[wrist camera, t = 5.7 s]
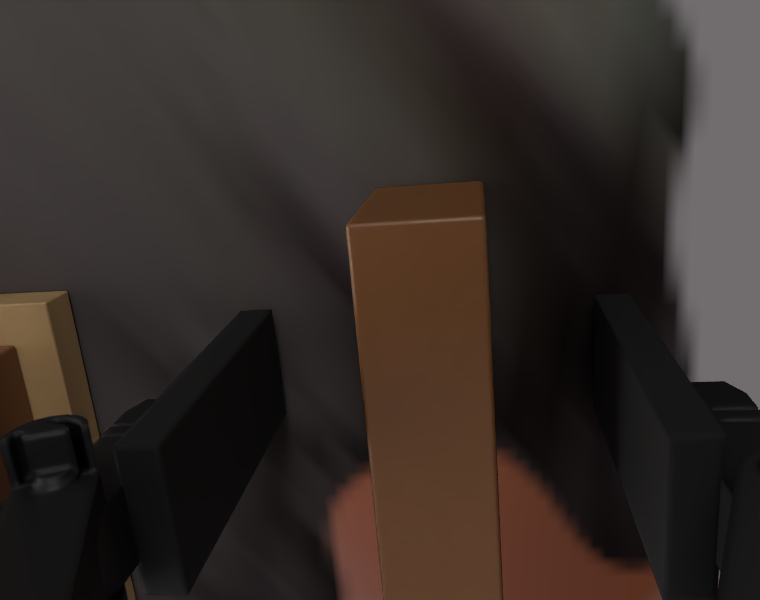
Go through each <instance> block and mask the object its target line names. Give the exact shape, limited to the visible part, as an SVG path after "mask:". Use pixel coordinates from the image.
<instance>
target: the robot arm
mask: <svg viewBox="0 0 760 600" xmlns="http://www.w3.org/2000/svg"><path fill="white" fill-rule="evenodd" d="M594 407H595V410H596V413H597V416H598V419H599V421H600V424H601V427H602V430H603V433H604V436H605V438H606V441H607V444H608V447H609V450H610V453H611V455H612V458H613V461H614V464H615V467H616V470H617V472H618V475H619V478H620V481H621V484H622V486H623V489H624V492H625V495H626V498H627V501H628V503H629V506H630V509H631V512H632V515H633V518H634V520H635V523H636V526H637V529H638V532H639V535H640V537H641V540H642V543H643V546H644V549H645V552H646V554H647V557H648V560H649V563H650V566H651V568H652V571H653V574H654V577H655V580H656V583H657V585H658V588H659V591H660V594H661V597H662V600H760V410H758V407H757V406H756V404H755V403H754V402H753V401H752V400H751V398H750V397H749V396H748V395H747V394H746V393H745V392H743V391H741V390H739V389H737V388H736V387H734V386H732V385H730V384H728V383H726V382H724V381H720V382H690V381H689V379H688V378H687V377H686V375H685V374H684V372H683V371H682V369H681V368H680V366H679V365H678V363H677V362H676V360H675V359H674V358H673V356H672V355H671V353H670V352H669V350H668V349H667V347H666V346H665V344H664V343H663V342H662V340H661V339H660V337H659V336H658V334H657V333H656V331H655V330H654V328H653V327H652V325H651V324H650V323H649V321H648V320H647V318H646V317H645V315H644V314H643V312H642V311H641V309H640V308H639V307H638V305H637V304H636V302H635V301H634V299H633V298H632V296H631V295H630V293H624V294H602V295H594ZM285 414H286V411H285V403H284V396H283V389H282V381H281V374H280V367H279V360H278V352H277V345H276V338H275V330H274V323H273V316H272V309H271V310H249V311H240V312H239V313H238V314H237V316H236V317H235V318H234V319H233V320H232V321H231V322H230V323H229V324H228V325H227V326H226V327H225V328H224V329H223V330H222V331H221V332H220V333H219V334H218V335H217V337H216V338H215V339H214V340H213V341H212V342H211V343H210V344H209V345H208V346H207V347H206V348H205V349H204V350H203V351H202V352H201V353H200V354H199V355H198V356H197V358H196V359H195V360H194V361H193V362H192V363H191V364H190V365H189V366H188V367H187V368H186V369H185V370H184V371H183V372H182V373H181V374H180V375H179V376H178V377H177V379H176V380H175V381H174V382H173V383H172V384H171V385H170V386H169V387H168V388H167V389H166V390H165V391H164V392H163V393H162V394H161V395H160V396H159V397H158V399H148V400H146V401H144V402H142V403H140V404H138V405H137V406H135V407H133V408H131V409H129V410H128V411H126V412H125V413H124V414H123V415H122V416H121V417H120V418H119V419H118V420H117V421H116V422H115V423H114V424H113V427H110V428H109V429H108V430H107V431H106V432H105V433H104V434H103V437H100V438H99V439H98V440H97V441H96V442H95V443H94V444H93V442H92V438H91V433H90V429H89V425H88V420H87V419H86V418H84V417H82V416H80V415H69V414H65V415H56V416H49V417H45V418H41V419H37V420H34V421H31V422H28V423H26V424H23V425H21V426H18V427H17V428H15V429H13V430H12V431H10V432H8V433H7V434H5V435H4V436H3V438H2V439H1V440H0V449H1V453H2V456H3V460H4V464H5V468H6V471H7V475H8V479H9V482H10V486H11V490H10V493H9V495H8V497H7V500H6V502H2V503H0V600H128V597H127V592H126V588H125V582H126V581H127V580H128V578H129V577H130V575H131V574H132V572H133V571H134V569H135V568H136V566H137V565H138V570H139V574H140V579H141V583H142V588H143V593H144V595H188V594H189V592H190V590H191V588H192V586H193V585H194V583H195V581H196V579H197V577H198V575H199V573H200V572H201V570H202V568H203V566H204V564H205V562H206V561H207V559H208V557H209V555H210V553H211V551H212V549H213V548H214V546H215V544H216V542H217V540H218V538H219V536H220V535H221V533H222V531H223V529H224V527H225V525H226V524H227V522H228V520H229V518H230V516H231V514H232V512H233V511H234V509H235V507H236V505H237V503H238V501H239V499H240V498H241V496H242V494H243V492H244V490H245V488H246V486H247V485H248V483H249V481H250V479H251V477H252V475H253V474H254V472H255V470H256V468H257V466H258V464H259V462H260V461H261V459H262V457H263V455H264V453H265V451H266V449H267V448H268V446H269V444H270V442H271V440H272V438H273V437H274V435H275V433H276V431H277V429H278V427H279V425H280V424H281V422H282V420H283V418H284V416H285ZM719 570H720V572H721V573H720V579H719V585H718V575H719V574H718V573H719ZM717 591H718V592H717Z"/></svg>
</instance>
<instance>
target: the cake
mask: <svg viewBox="0 0 760 600" xmlns="http://www.w3.org/2000/svg"><path fill="white" fill-rule="evenodd" d="M65 414H69V415H80V416H82V417H84V418H86V419H87V420H88V425H89V429H90V433H91V438H92V442H93V444H94V443H95V442H96V441H97V440H98V439H99V438H100V436H99V432H98V427H97V423H96V418H95V414H94V409H93V405H92V400H91V396H90V391H89V387H88V382H87V378H86V373H85V369H84V364H83V360H82V355H81V351H80V346H79V342H78V337H77V333H76V328H75V324H74V319H73V315H72V310H71V306H70V301H69V297H68V292H67V291H52V292H32V293H13V294H0V440H1V439H2V438H3V436H4V435H5V434H7V433H8V432H10V431H12V430H13V429H15V428H17V427H18V426H21V425H23V424H26V423H28V422H31V421H34V420H37V419H41V418H45V417H49V416H56V415H65ZM10 490H11V486H10V482H9V479H8V475H7V471H6V468H5V464H4V460H3V456H2V453H1V449H0V503H2V502H6V500H7V497H8V495H9V493H10ZM125 588H126V592H127V597H128V600H136V598H135V594H134V589H133V585H132V580H131V576H130V577H129V578H128V580H127V581H126V582H125Z"/></svg>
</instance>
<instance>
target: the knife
mask: <svg viewBox="0 0 760 600" xmlns="http://www.w3.org/2000/svg"><path fill="white" fill-rule="evenodd" d="M346 237H347V247H348V257H349V267H350V276H351V286H352V296H353V306H354V316H355V325H356V335H357V345H358V355H359V365H360V374H361V384H362V394H363V404H364V414H365V423H366V433H367V443H368V453H369V463H370V472H371V482H372V492H373V502H374V511H375V520H376V531H377V541H378V550H379V561H380V570H381V580H382V590H383V600H503V585H502V563H501V540H500V516H499V494H498V471H497V448H496V425H495V402H494V379H493V357H492V334H491V311H490V288H489V266H488V243H487V220H486V208H485V196H484V185H483V183H482V182H481V181H469V182H455V183H440V184H426V185H411V186H396V187H382V188H377V189H375V190H374V191H373V193H372V194H371V195H370V196H369V198H368V199H367V200H366V201H365V202H364V204H363V205H362V206H361V207H360V209H359V210H358V211H357V212H356V214H355V215H354V216H353V217H352V219H351V220H350V221H349V222H348V223H347V225H346Z"/></svg>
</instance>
